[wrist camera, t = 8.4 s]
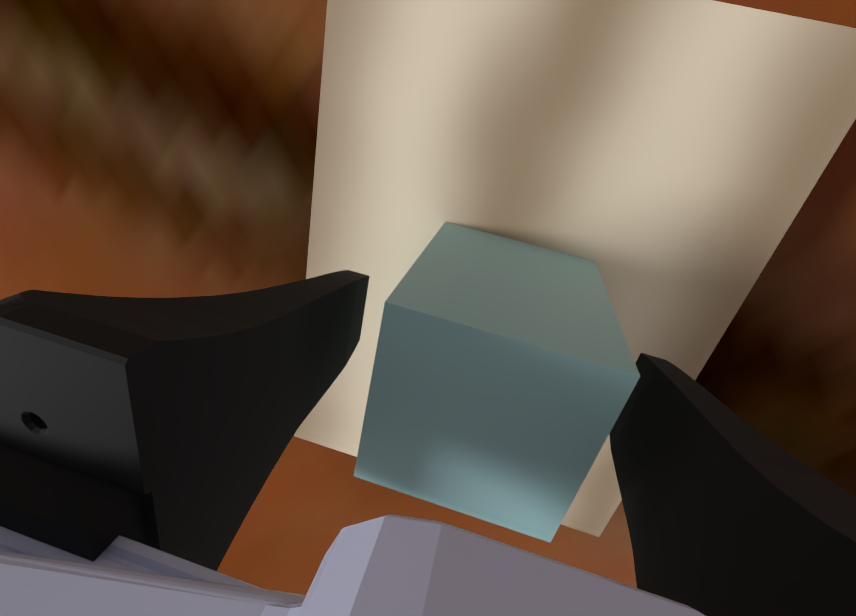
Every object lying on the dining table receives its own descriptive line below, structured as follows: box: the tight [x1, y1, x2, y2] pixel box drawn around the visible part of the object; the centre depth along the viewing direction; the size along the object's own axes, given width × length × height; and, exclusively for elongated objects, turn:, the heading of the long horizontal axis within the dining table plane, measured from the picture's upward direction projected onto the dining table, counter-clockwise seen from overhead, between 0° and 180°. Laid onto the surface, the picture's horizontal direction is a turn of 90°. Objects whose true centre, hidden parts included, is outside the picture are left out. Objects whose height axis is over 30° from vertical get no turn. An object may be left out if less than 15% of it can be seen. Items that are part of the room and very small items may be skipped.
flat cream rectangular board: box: [294, 0, 856, 537], centre depth 15 cm, size 13×17×3 cm
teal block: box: [354, 221, 640, 542], centre depth 11 cm, size 4×4×6 cm
